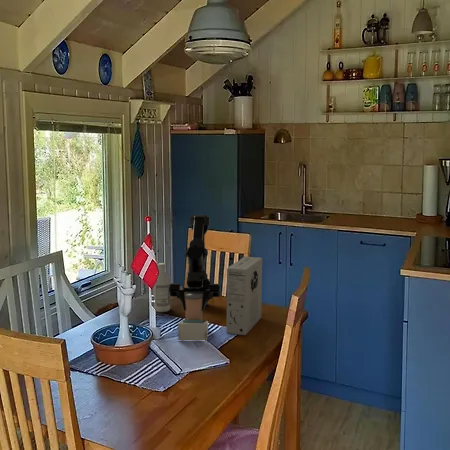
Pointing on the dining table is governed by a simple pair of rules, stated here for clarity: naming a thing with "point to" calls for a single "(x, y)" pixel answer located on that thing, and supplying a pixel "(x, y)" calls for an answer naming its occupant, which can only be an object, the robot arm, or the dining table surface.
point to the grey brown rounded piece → (193, 305)
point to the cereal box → (244, 295)
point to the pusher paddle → (193, 321)
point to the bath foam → (162, 290)
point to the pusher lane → (192, 331)
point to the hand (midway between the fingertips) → (193, 310)
